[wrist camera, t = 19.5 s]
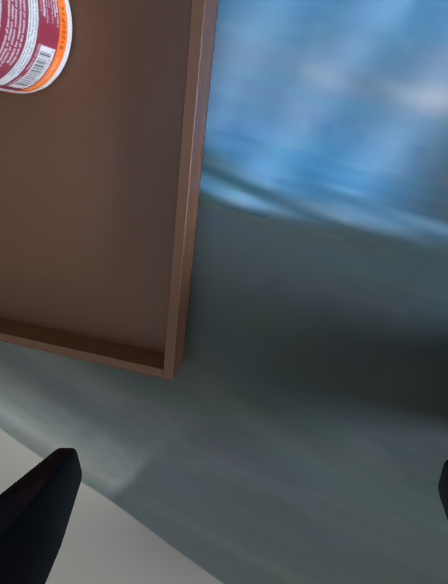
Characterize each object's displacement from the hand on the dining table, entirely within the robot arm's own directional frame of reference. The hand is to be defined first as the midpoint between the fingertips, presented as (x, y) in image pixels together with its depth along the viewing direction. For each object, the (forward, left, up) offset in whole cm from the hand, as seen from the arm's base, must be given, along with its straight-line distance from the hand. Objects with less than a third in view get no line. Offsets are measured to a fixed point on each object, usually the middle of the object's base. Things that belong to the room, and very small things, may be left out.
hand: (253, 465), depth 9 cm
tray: (+13, -5, -13) cm, 18 cm away
